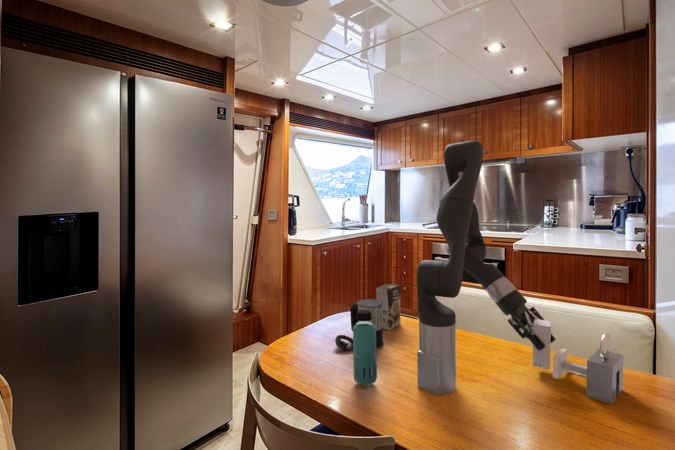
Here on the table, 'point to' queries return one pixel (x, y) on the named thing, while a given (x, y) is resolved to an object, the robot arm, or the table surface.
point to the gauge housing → (604, 373)
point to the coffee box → (389, 304)
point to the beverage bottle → (364, 349)
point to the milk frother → (376, 320)
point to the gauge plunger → (565, 365)
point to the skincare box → (544, 333)
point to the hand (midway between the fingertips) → (547, 345)
